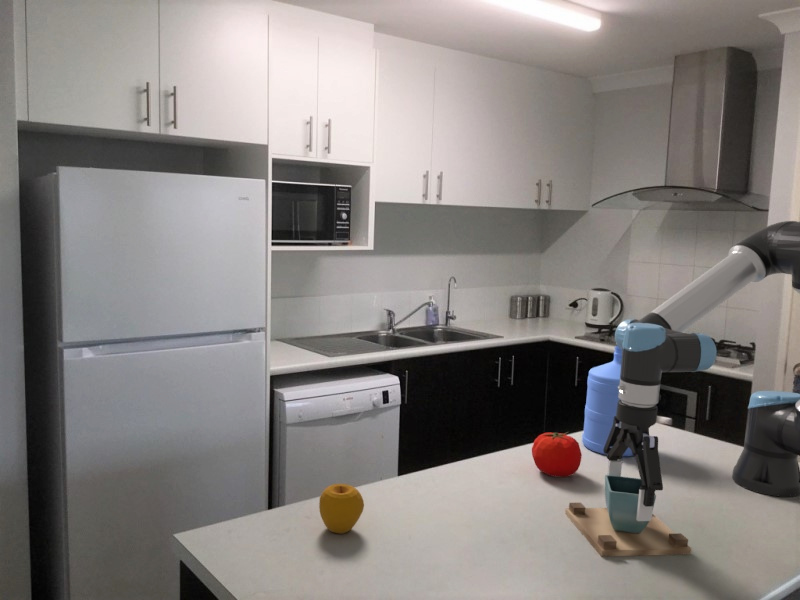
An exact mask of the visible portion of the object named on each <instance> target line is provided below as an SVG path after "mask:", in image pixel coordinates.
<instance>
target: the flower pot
mask: <svg viewBox="0 0 800 600" xmlns="http://www.w3.org/2000/svg"><path fill="white" fill-rule="evenodd" d="M640 486H642V482H641V478H637V477H628V476H627V477H626V476H622V475H621V476H613V475H607V474H605V475H604V497H605V505H606V508H607V510H608V514H609V518H610V522H611V525H612V527H613V529H614V530H616V531H624V532H632V533H641V532H642V531H643V530H644V529H645V527H646V526H647V525H648V523H649V521H637V520H636V518H637V508H638V498H639V487H640ZM656 499H657V494H656V493H655V494H654V504H653V508H654V507H655V503H656ZM653 511H654V510H653ZM653 511H652V513H653Z"/></svg>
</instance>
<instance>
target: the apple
mask: <svg viewBox="0 0 800 600" xmlns="http://www.w3.org/2000/svg"><path fill="white" fill-rule="evenodd" d="M318 503H319V509H318V510H319V513H320V517H321V520H322V522H323V524H324V526H325V528H327V529H328V531H330V532H332V533H335V534H340V535H341V534H342V535H343V534H346V533H348V532H350V530H351V531H352V529H353V528H354V527H355V525H356V524H357V522H358V521H359V519H360V518H361V515H362V514H363V512H364V507H365V504H364V499H363V496H362V494H361V492H360V491H359V490H358V489H357V487H356V488H355V487H354V486H352V485H350V484H344V483H334V484H331V485H329V486H327V487H326V488H324V490H323V491H322V492H321V495H320V496H319V502H318Z"/></svg>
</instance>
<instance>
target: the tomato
mask: <svg viewBox="0 0 800 600" xmlns="http://www.w3.org/2000/svg"><path fill="white" fill-rule="evenodd" d="M567 433H569V431H567V432H565V433H559V432H550V431H549V432H544V433H541V434H539V435H538V436H537V437H536V438H535V439H534V441H533V445H532V447H531V455H532V458H533V461H534V464H535V467H536V468H537V469H538V470H539V471H541V472H542V473H544V474H546V475H548V476H550V477H558V478H559V477H561V478H567V477H570V476H572V475H574V474H575V473H577V471H578V470H579V468H580V466H581V462H582V451H581V448H580V443H579V442H578V441H577V440H576V439H575V438H574V437H572V435H571V436H569V435H567Z"/></svg>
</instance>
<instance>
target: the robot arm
mask: <svg viewBox="0 0 800 600" xmlns="http://www.w3.org/2000/svg"><path fill="white" fill-rule="evenodd" d="M774 274H775V275H776V274H785V275H790V276H791V288H792V289H793V290H794V291H795V292H796V293H798V294H799V295H800V221H795V220H786V221H781V222H780V221H779V222H777V223H773V224H770V225H768V226H765V227H763V228H761V229H759V230H758V231H755V232H754V233H751V234H750V235H749V236H747V237H745V238H744V239H741V240H740V241H739V242H737V243H736V244H735V245H733V246H732V247H731V248H730V249H729V250H728V253H727V256H726V257H725V258H723V259H722V260H721V261H719V262H718V263H716V264H715V265H714V266H713V267H711V268H709V269H708V270H707V271H705V272H704V273H703V274H701V275H700V276H699V277H697V278H696V279H694V280H692V281H691V282H690V283H689V284H687V285H686V286H685V287H683V288H682V289H680V290H679V291H677V292H676V293H675V294H674V295H672V296H671V297H669V298H668V299H667V300H665V301H664V302H663V303H661V304H660V305H659V306H657V307H655V308H654V309H652V311H650V312H649V313H648V314H646V315H645V316H643V317H641V318H640V319H637V318H636V319H635V318H634V319H633V318H631V319H629V318H628V319H625V320H623V321H622V322H620V323H619V324H618V326H617V327H616V329H615V332H614V341H615V343H616V346H618V347H619V348H620V349H621V350H622V361H621V373H620V385H619V386H618V390H619V395H618V397H619V399H620V400H619V401H618V402H617V413H616V416H614V420H613V426H612V428H611V431H610V434H609V436H608V439H607V441H606V444H605V446H604V450H603V451H604V453H607V455H606V457H607V458H606V459H607V471H606V475H613V476H621V477H622V467H623V461H622V460H623V459H624V457H622V455H623V454H624V453H625V451H626V450H627V449H628V447H629V448H630V449H631V451H632V454H633V457H634V456H635V457H634V458H635V461H636V465H637V470H638V473H639V479H641V482H642V486H640V487H639V498H638V508H637V518H636V520H637V521H652V514H653V512H652V511H654V507H653V504H654V505H655V503H654V494H655V495H656V493H655V492H656V491H663V489H664V487H663V486H664V485H663V478H662V469H661V463H660V462H661V461H660V455H659V437H658V436H657V435H656V436H653V435H650V428H651V427H652V426H654V425H656V424H657V420H658V419H657V417H658V406H657V404H659V401H660V400H659V399H660V390H661V389H660V388H661V380H662V373H686V372H689V373H690V372H691V373H696V372H700V371H707V370H708V369H710V368H711V367H712V366H713V365H714V364H715V362H716V359H717V347H716V344H715V342H714V340H713V339H712V338H711V337H710V336H709V335H707V334H704V333H697V332H692V333H686V332H685V331H687V330H688V329H689V328H691V327H692V326H693V325H694V324H696V323H697V322H698V321H700V320H701V319H703V318H704V317H705V316H707V315H708V314H709V313H711V312H712V311H714V310H716V308H718V307H719V306H720V305H722V304H723V303H725V302H726V301H727V300H728V299H730V298H731V297H733V296H734V295H735V294H737V293H739V292H740V291H741V290H742V289H744V288H745V287H746V286H748V285H749V284H751V283H759V282H761V281H763V280H764V279H765V278H767V277H768V276H771V275H774ZM746 415H747V417H746V424H745V434H744V436H745V437H744V444H743V449H742V451H741V454H740V455H739V458H738V459H737V462H736V463H735V465H734V466H733V469H732V475H731V477H732V480H733V482H735V483H736V484H737V485H739V486H740V487H743V488H745V489H747V490H749V491H753V492H756V493H759V494H764V495H768V496H775V497H784V498H786V497H787V498H788V497H789V498H790V497H796V496H799V495H800V465H799V459H798V457H800V393H797V392H791V391H784V390H783V391H782V390H781V391H780V390H779V391H778V390H760V391H755V392H753V393H752V394H751V396H750V397H749V404H748V406H747V414H746ZM610 447H612V448H610Z"/></svg>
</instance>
